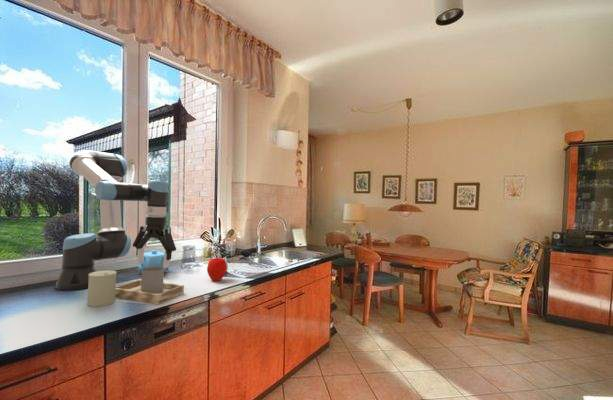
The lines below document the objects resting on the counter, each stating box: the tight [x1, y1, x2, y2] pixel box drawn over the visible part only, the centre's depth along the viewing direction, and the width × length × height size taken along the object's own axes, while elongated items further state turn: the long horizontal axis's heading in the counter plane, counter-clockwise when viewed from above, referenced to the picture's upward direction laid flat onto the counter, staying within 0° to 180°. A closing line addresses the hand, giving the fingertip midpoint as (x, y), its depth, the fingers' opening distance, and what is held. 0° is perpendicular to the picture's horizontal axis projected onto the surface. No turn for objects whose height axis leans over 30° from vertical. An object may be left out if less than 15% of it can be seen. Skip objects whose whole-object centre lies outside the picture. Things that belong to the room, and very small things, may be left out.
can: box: [86, 269, 117, 308], centre depth 113 cm, size 9×9×12 cm
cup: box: [140, 267, 165, 294], centre depth 124 cm, size 8×8×10 cm
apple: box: [206, 257, 228, 282], centre depth 151 cm, size 10×10×12 cm
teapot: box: [137, 249, 170, 273], centre depth 157 cm, size 18×16×13 cm
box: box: [115, 278, 185, 305], centre depth 124 cm, size 24×15×4 cm, turn 76°
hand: (152, 265), depth 124 cm, fingers open, 13 cm apart
